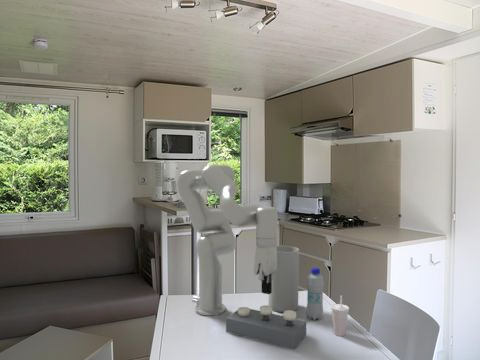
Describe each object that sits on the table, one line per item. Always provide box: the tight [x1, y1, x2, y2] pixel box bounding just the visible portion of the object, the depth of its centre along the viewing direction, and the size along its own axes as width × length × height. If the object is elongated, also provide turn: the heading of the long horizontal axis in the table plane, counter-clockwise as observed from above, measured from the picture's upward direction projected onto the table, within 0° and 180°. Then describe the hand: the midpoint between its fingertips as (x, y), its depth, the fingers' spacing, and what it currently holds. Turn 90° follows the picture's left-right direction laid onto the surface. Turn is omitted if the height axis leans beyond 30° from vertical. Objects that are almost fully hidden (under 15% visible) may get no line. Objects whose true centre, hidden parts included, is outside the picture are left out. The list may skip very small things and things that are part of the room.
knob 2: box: [282, 310, 297, 327], centre depth 128 cm, size 4×4×6 cm
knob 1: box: [237, 306, 251, 316], centre depth 137 cm, size 4×4×6 cm
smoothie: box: [330, 295, 350, 337], centre depth 133 cm, size 6×6×14 cm
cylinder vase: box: [268, 245, 300, 313], centre depth 157 cm, size 12×12×25 cm
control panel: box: [225, 308, 307, 350], centre depth 132 cm, size 26×12×5 cm, turn 61°
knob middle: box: [259, 304, 273, 321], centre depth 132 cm, size 4×4×6 cm
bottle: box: [306, 267, 325, 321], centre depth 146 cm, size 7×7×20 cm
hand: (266, 292), depth 132 cm, fingers closed
